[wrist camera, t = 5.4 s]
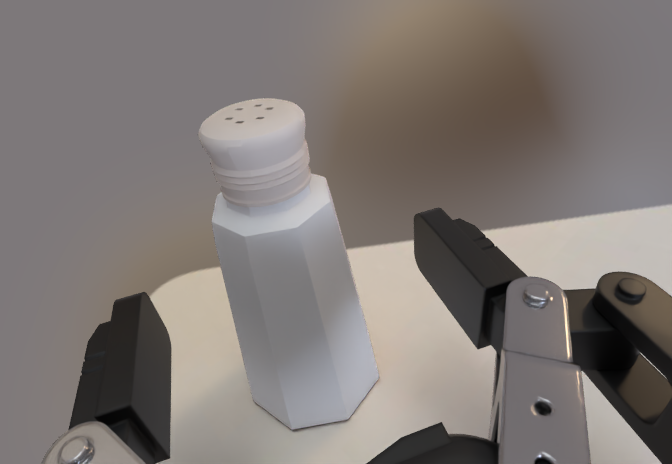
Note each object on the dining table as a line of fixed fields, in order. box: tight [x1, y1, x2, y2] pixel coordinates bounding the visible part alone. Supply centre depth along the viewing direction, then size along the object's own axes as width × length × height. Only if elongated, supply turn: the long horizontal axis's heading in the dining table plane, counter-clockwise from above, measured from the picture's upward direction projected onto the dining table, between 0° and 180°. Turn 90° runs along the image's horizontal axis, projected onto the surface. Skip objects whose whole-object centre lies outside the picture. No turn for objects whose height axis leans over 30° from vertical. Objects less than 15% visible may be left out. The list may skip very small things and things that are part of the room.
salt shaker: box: [198, 98, 379, 430], centre depth 14 cm, size 5×5×11 cm
